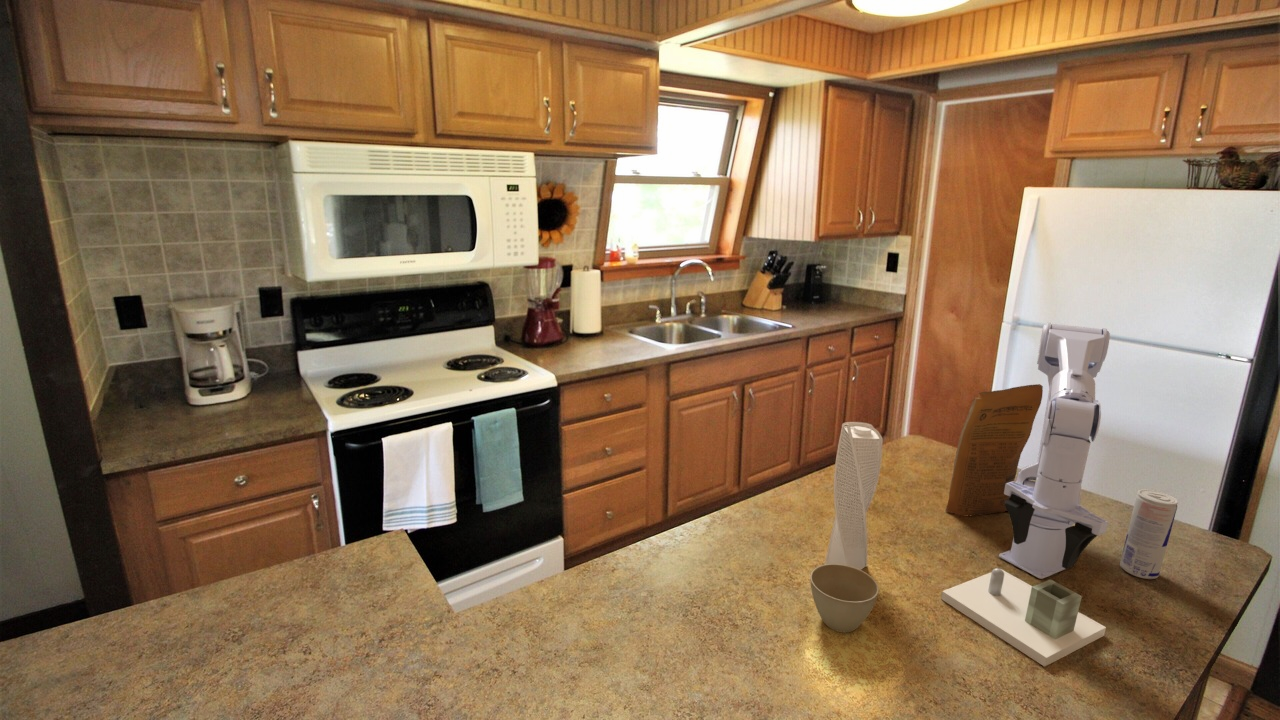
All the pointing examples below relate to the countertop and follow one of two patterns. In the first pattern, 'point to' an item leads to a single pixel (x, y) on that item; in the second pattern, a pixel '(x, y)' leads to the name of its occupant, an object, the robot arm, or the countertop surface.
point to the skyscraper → (854, 492)
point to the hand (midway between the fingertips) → (1043, 553)
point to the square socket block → (1053, 609)
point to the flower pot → (843, 595)
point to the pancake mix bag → (992, 448)
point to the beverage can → (1148, 533)
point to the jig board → (1016, 616)
